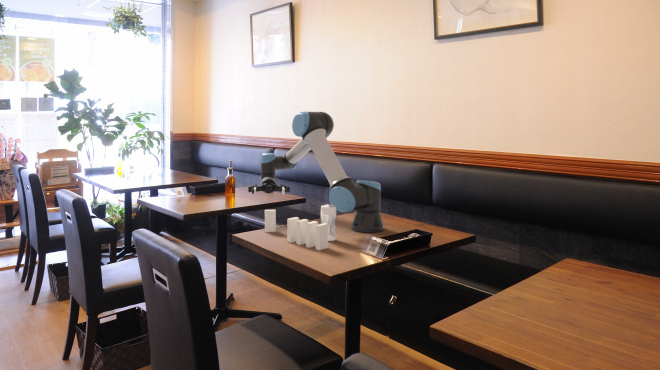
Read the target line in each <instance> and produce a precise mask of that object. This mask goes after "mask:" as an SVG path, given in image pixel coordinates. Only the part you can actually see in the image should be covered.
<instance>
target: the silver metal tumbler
mask: <svg viewBox="0 0 660 370" xmlns="http://www.w3.org/2000/svg"><path fill="white" fill-rule="evenodd" d="M337 213H338V211H337V210H336V205H331V203H330V204H328V203H327V204H321V206H320V224H323V223H326V224H328V243H329V242H334V241H336V236H335V229H336V224H337Z"/></svg>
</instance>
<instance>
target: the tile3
mask: <svg viewBox="0 0 660 370" xmlns="http://www.w3.org/2000/svg"><path fill="white" fill-rule="evenodd" d="M308 222H309V219H307V218H303V219H299V220H298V221H296V241H295V242H296V245H297V246H302V245H306V223H308Z"/></svg>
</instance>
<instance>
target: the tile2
mask: <svg viewBox="0 0 660 370" xmlns="http://www.w3.org/2000/svg"><path fill="white" fill-rule="evenodd" d="M298 220H300V218H299V217H298V216H295V217H290V218H289V217H288V218H287V221H286V222H287V223H286V224H287V227H286V230H287V233H286V236H287V237H286V238H287V239H286V240H287V243H291V244H292V243H295V242H296V221H298Z"/></svg>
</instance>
